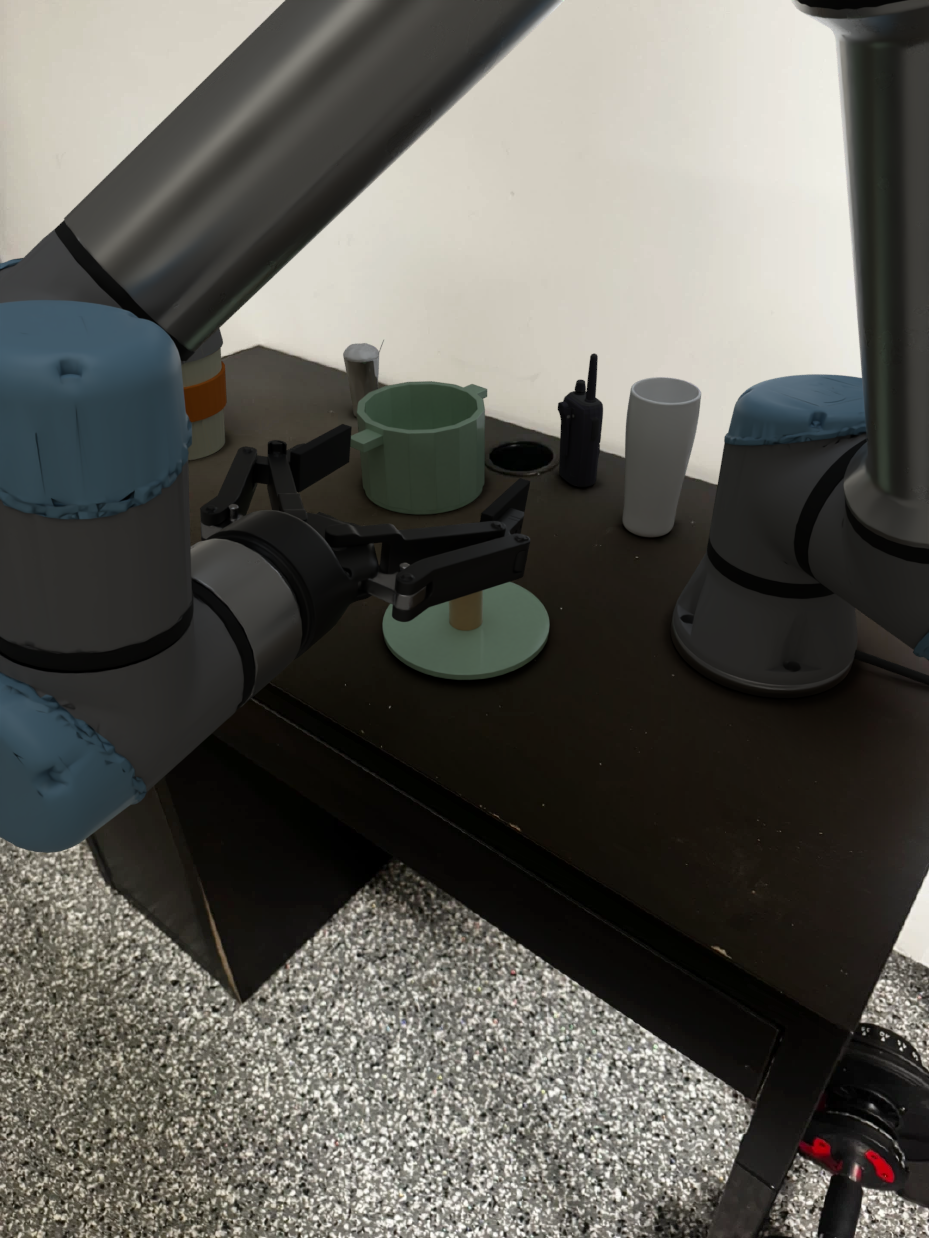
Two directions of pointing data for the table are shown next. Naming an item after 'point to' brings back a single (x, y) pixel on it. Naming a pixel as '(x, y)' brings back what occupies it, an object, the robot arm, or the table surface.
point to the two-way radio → (581, 431)
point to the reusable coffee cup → (205, 397)
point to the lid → (472, 634)
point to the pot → (422, 446)
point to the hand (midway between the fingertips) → (431, 469)
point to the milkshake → (361, 370)
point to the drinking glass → (657, 452)
